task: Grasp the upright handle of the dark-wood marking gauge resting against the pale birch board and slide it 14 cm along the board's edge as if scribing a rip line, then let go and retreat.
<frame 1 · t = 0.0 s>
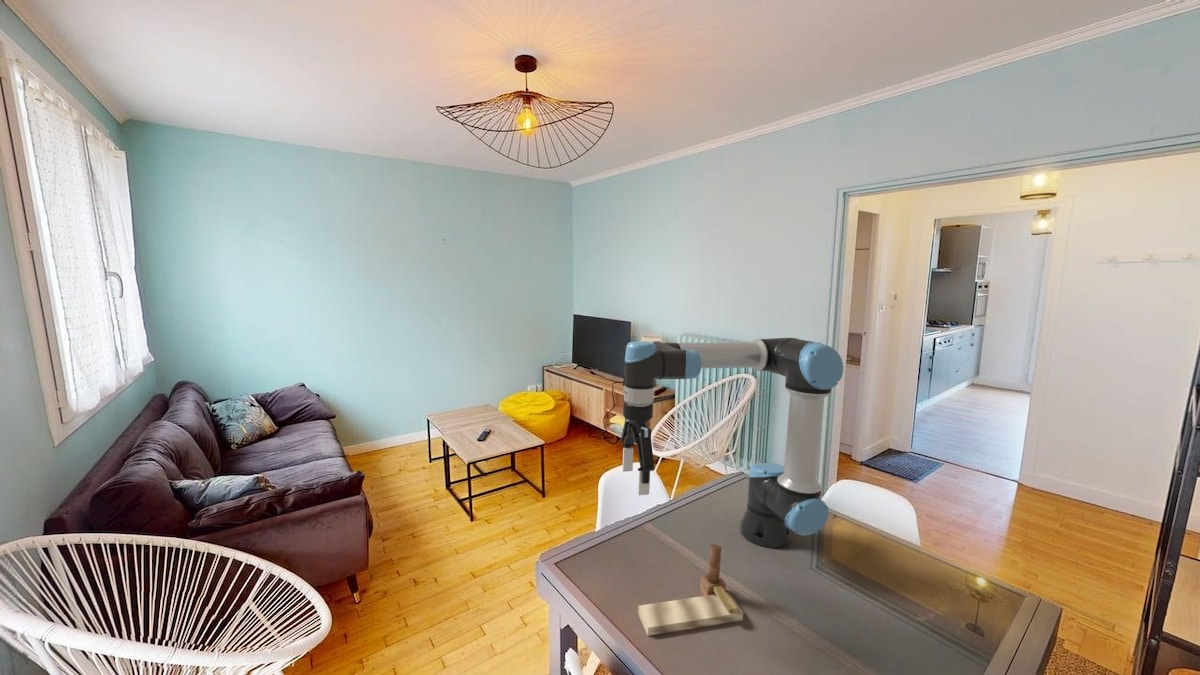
hand: (635, 482, 115), 28 cm above the table, fingers open, 13 cm apart
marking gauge: (721, 581, 109), point 6 cm above the table, slide at 0.0 cm
board: (690, 616, 106), on the table
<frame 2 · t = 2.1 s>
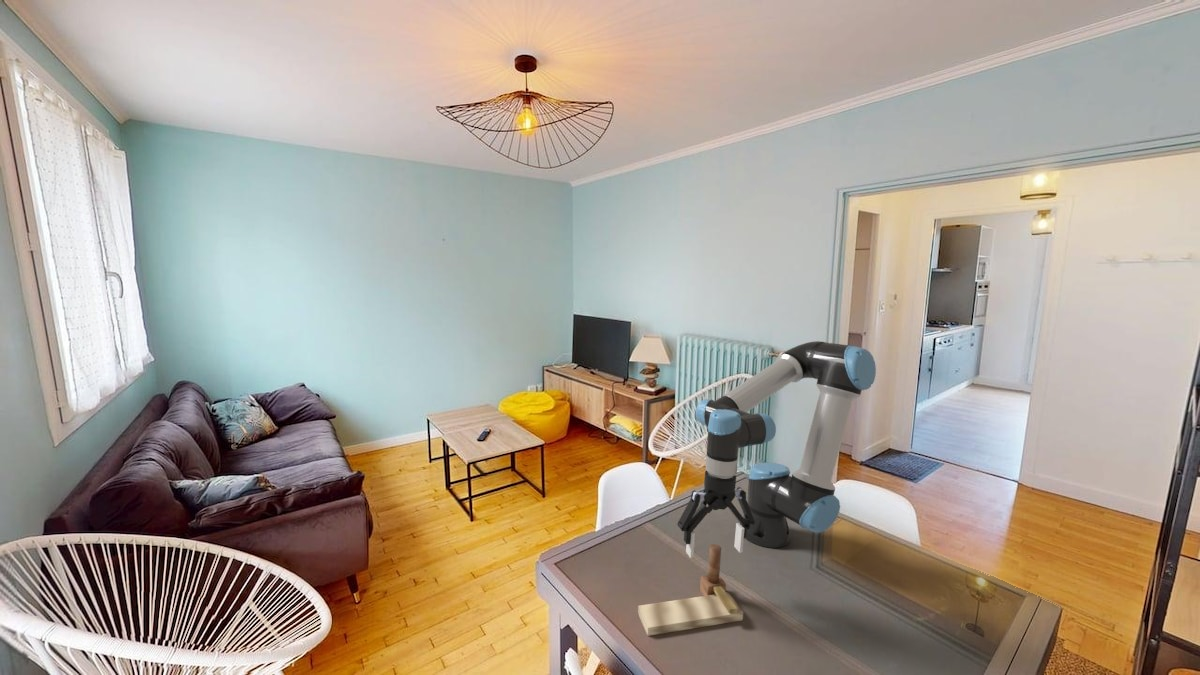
hand: (714, 552, 112), 12 cm above the table, fingers open, 13 cm apart
nothing on the table moved.
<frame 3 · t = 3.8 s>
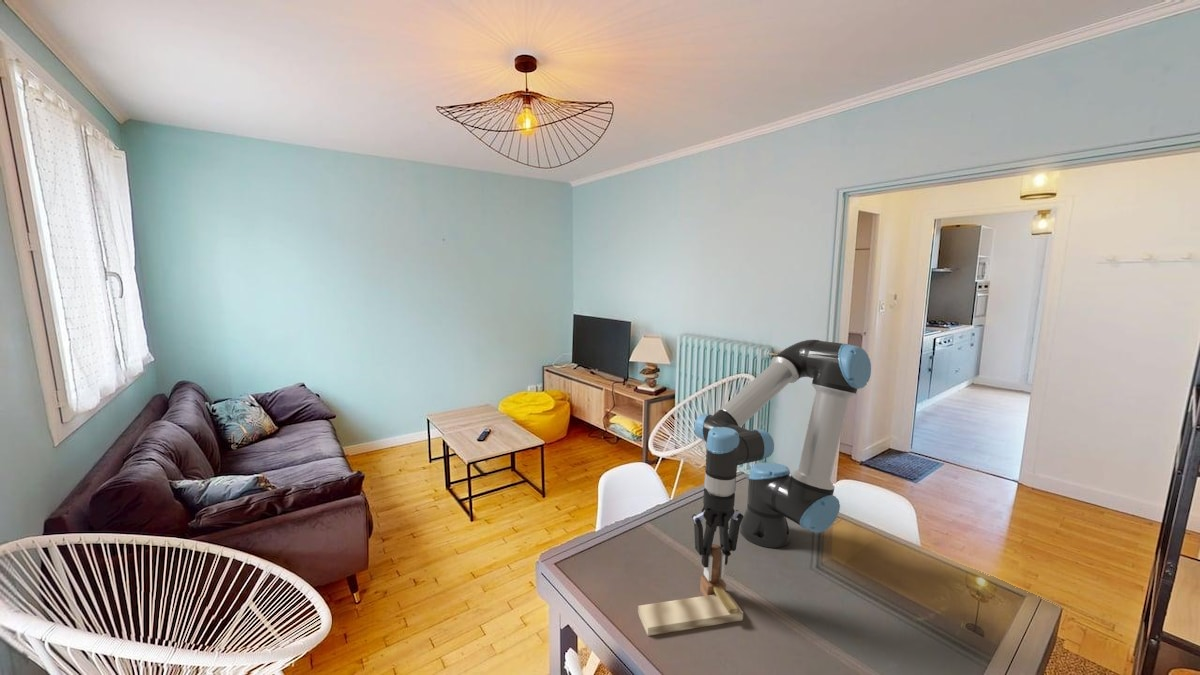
hand: (713, 576, 113), 5 cm above the table, fingers closed on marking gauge, 3 cm apart
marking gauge: (721, 581, 109), point 7 cm above the table, slide at 0.0 cm, touching gripper
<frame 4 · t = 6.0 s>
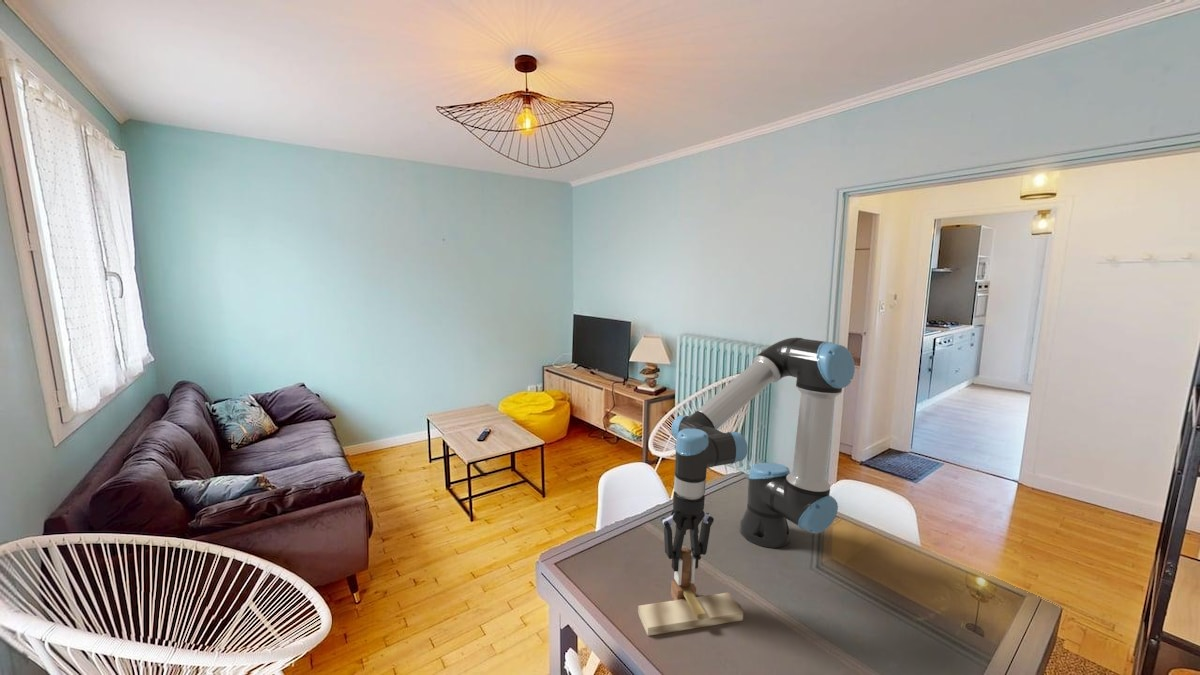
hand: (684, 580, 111), 5 cm above the table, fingers closed on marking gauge, 3 cm apart
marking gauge: (691, 585, 107), point 7 cm above the table, slide at 8.2 cm, touching gripper
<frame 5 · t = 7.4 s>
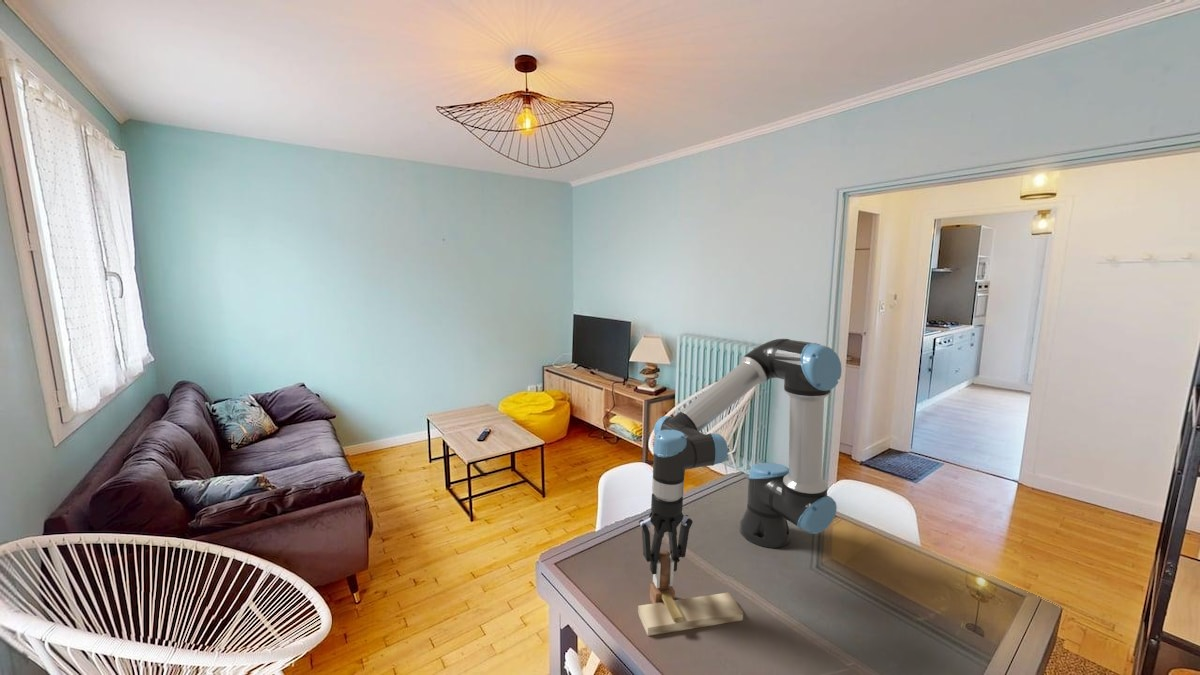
hand: (662, 583, 110), 5 cm above the table, fingers closed on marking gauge, 3 cm apart
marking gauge: (669, 588, 106), point 7 cm above the table, slide at 13.9 cm, touching gripper
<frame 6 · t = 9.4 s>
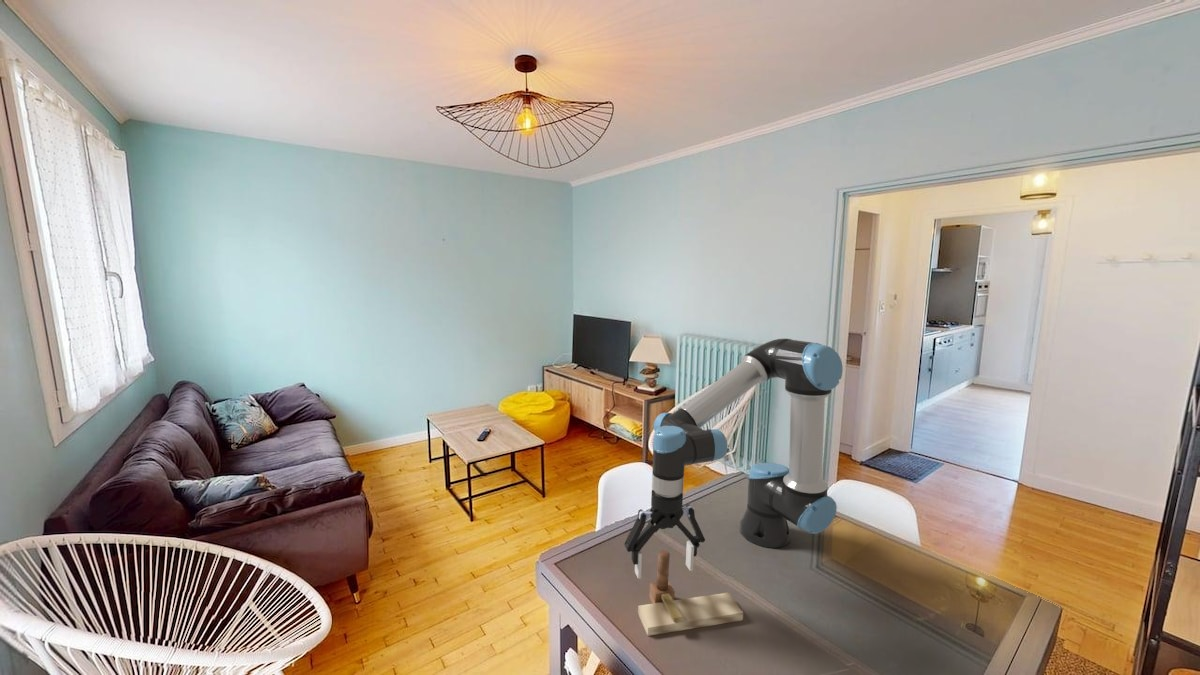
hand: (663, 571, 110), 8 cm above the table, fingers open, 13 cm apart
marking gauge: (668, 588, 106), point 6 cm above the table, slide at 14.0 cm
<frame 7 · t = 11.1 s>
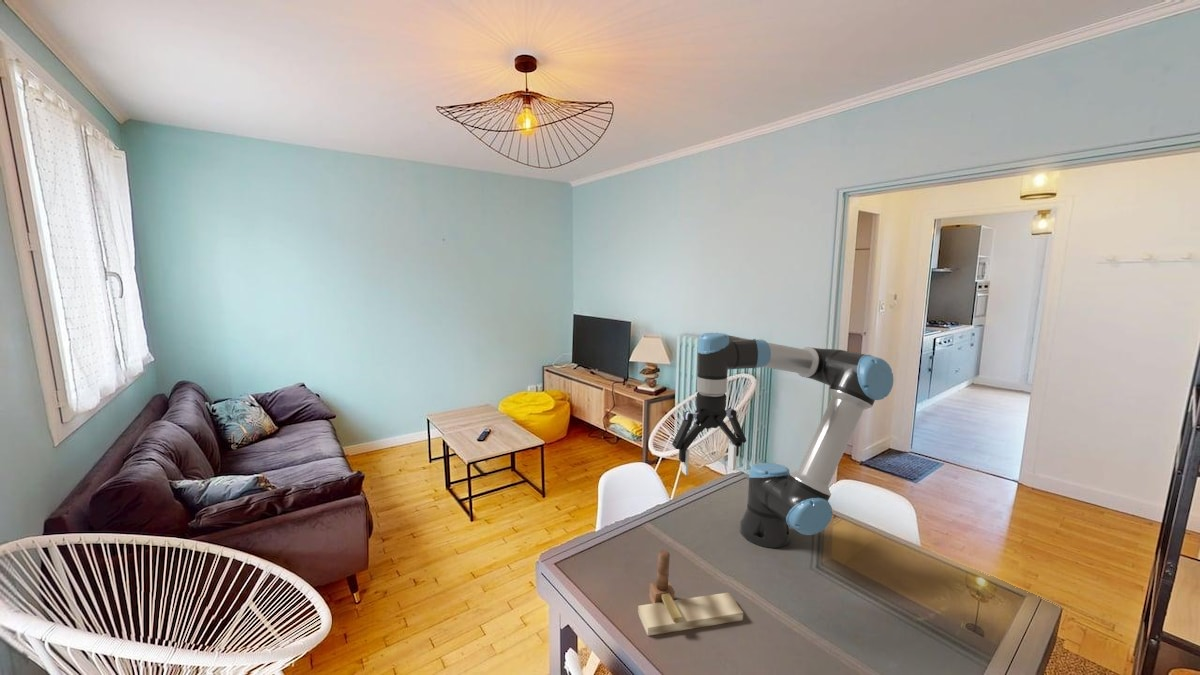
hand: (708, 470, 117), 30 cm above the table, fingers open, 13 cm apart
nothing on the table moved.
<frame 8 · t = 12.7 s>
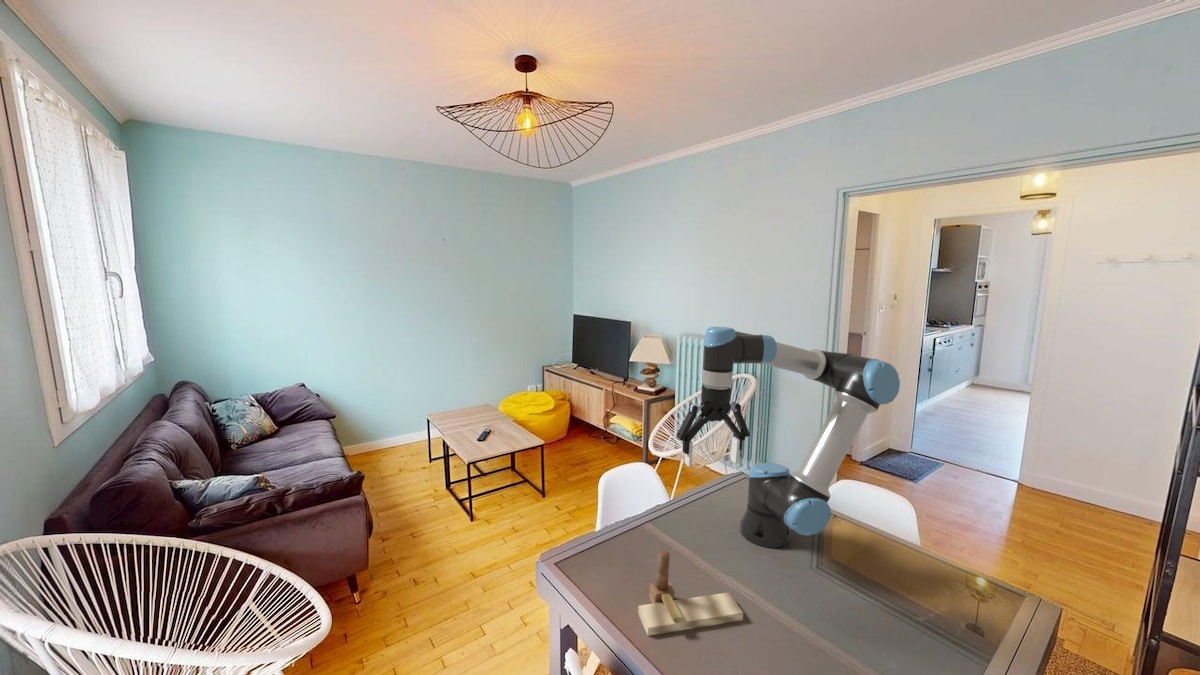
hand: (711, 463, 119), 32 cm above the table, fingers open, 13 cm apart
nothing on the table moved.
at the end: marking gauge slide at 14.0 cm; the gripper is holding nothing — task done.
